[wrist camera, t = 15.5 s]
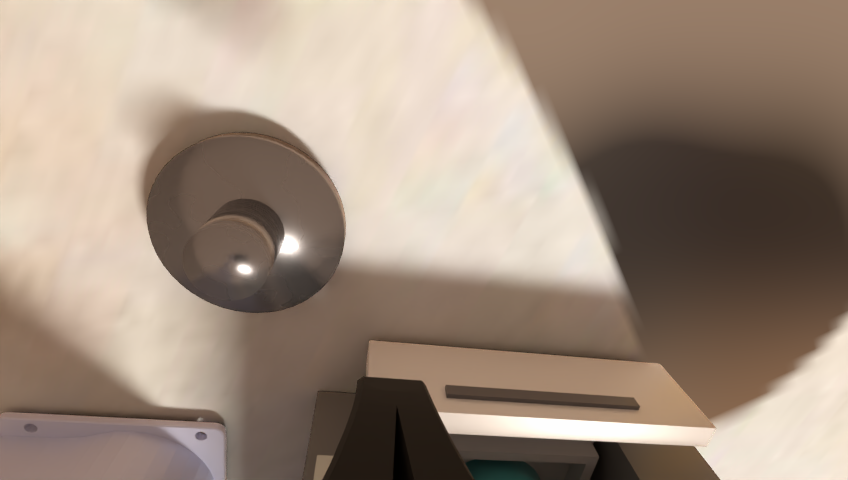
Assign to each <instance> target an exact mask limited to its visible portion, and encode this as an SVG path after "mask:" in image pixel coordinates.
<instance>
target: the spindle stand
mask: <svg viewBox="0 0 848 480" xmlns="http://www.w3.org/2000/svg"><path fill="white" fill-rule="evenodd" d="M147 224H148V231H149V235H150V238H151V242H152V245H153V247H154V249H155V251H156V253H157V255H158V257H159V259H160V260H161V262H162V263H163V265H164V266H165V268H166V269H167V270H168V271H169V273H170V274H171V275H172V276H173V277H174V278H175V279H176V280H177V281H178V282H179V283H180V284H181V285H183V286H184V287H185V288H186V289H188V290H189V291H190V292H192V293H193V294H195V295H197V296H198V297H200V298H202V299H204V300H206V301H208V302H210V303H212V304H215V305H217V306H220V307H223V308H227V309H231V310H235V311H241V312H250V313H263V312H273V311H278V310H283V309H286V308H289V307H293V306H295V305H297V304H299V303H302V302H304V301H305V300H307V299H308V298H310V297H312V296H313V295H314V294H316V293H317V292H318V291H319V290H321V288H322V287H323V286H324V285H325V284H326V283H327V282H328V281H329V279H330V278H331V277H332V275H333V274H334V272H335V270H336V268H337V266H338V264H339V261H340V258H341V255H342V252H343V246H344V240H345V235H346V221H345V212H344V208H343V204H342V201H341V199H340V196H339V194H338V191H337V189H336V188H335V186H334V184H333V182H332V181H331V179H330V178H329V177H328V175H327V174H326V173H325V171H324V170H323V169H322V168H321V167H320V166H319V165H318V164H317V163H316V162H315V161H314V160H313V159H312V158H310V157H309V156H308V155H307V154H305V153H304V152H302V151H301V150H299V149H298V148H296V147H294V146H292V145H290V144H288V143H286V142H284V141H282V140H279V139H276V138H273V137H270V136H266V135H261V134H256V133H244V132H239V133H226V134H221V135H216V136H213V137H210V138H207V139H204V140H202V141H200V142H198V143H196V144H194V145H192V146H190V147H188V148H187V149H185V150H183V151H182V152H180V153H179V154H178V155H176V156H175V157H173V158H172V159H171V160H170V161H169V162H168V163H167V164H166V165H165V166H164V168H163V169H162V170H161V172H160V173H159V174H158V176H157V178H156V180H155V182H154V184H153V186H152V189H151V192H150V195H149V199H148V205H147Z"/></svg>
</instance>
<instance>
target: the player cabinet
mask: <svg viewBox="0 0 848 480" xmlns="http://www.w3.org/2000/svg"><path fill="white" fill-rule="evenodd" d="M355 395H356V393H340V392H324V391H318V395H317V400H316V406H315V412H314V417H313V423H312V429H311V434H310V440H309V446H308V451H307V457H306V463H305V468H304V474H303V480H322V479H323V477H324V475H325V473H326V471H327V469H328V467H329V465H330V463H331V461H332V458H333V456H334V454H335V451H336V449H337V446H338V444H339V442H340V439H341V437H342V435H343V432H344V430H345V427H346V424H347V422H348V419H349V416H350V413H351V410H352V407H353V403H354V400H355ZM593 446H594V448H595V450H596V452H597V453H598V455H599V459H598V461H597V464H596V466H595V468H594V470H593V473H592V475H591V477H590V480H720V479H719V477H718V476H717V475H716V474H715V472H714V471H713V470H712V468H711V467H710V466H709V465H708V463H707V462H706V461H705V460H704V458H703V457H702V456H701V454H700V453H699V452H698V451H697V449H696V448H695V447H694V446H682V445H663V444H644V443H624V442H605V441H594V443H593Z"/></svg>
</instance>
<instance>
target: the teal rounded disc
mask: <svg viewBox="0 0 848 480" xmlns="http://www.w3.org/2000/svg"><path fill="white" fill-rule="evenodd" d="M465 464H466V466H467V467H468V469H469V471H470V473H471V475H472V476H473V478H474V479H475V480H540V477H539V475H538V474H537V472H536V471H535V470H534V469H533V468H532V467H531V466H530V465H529V464H527V463H526V462H524V461H501V460H477V459H474V460H471V461H469V462H466V463H465Z"/></svg>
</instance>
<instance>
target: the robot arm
mask: <svg viewBox="0 0 848 480" xmlns="http://www.w3.org/2000/svg"><path fill="white" fill-rule="evenodd" d="M201 432H204V433H205V434H204V433H201ZM0 480H227V444H226V428H225V427H224V426H223V425H221V424H220V423H214V422H194V421H175V420H155V419H135V418H116V417H96V416H77V415H57V414H38V413H18V412H4V413H2V414H0ZM322 480H475V479H474V478H473V476H472V475H471V473H470V471H469V469H468V467H467V466H466V464H465V462H464V460H463V459H462V457H461V455H460V453H459V452H458V450H457V448H456V446H455V445H454V443H453V441H452V439H451V437H450V435H449V433H448V431H447V429H446V427H445V425H444V423H443V422H442V420H441V418H440V415H439V413H438V411H437V409H436V407H435V405H434V403H433V401H432V398H431V396H430V394H429V391H428V389H427V387H426V385H425V384H424V382H423V381H422V380H408V379H393V378H379V377H362V378H361V379H359V380H358V382H357V389H356V395H355V400H354V403H353V407H352V410H351V413H350V416H349V419H348V422H347V424H346V427H345V430H344V432H343V435H342V437H341V439H340V442H339V444H338V446H337V449H336V451H335V454H334V456H333V458H332V461H331V463H330V465H329V467H328V469H327V471H326V473H325V475H324V477H323V479H322Z"/></svg>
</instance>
